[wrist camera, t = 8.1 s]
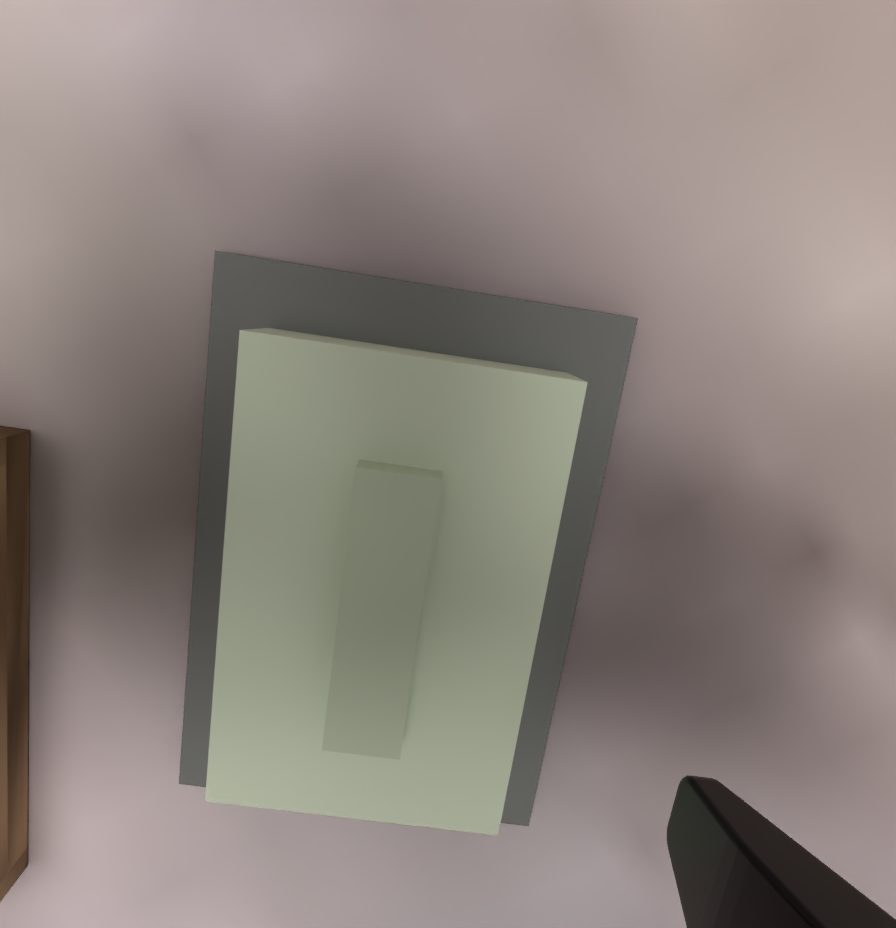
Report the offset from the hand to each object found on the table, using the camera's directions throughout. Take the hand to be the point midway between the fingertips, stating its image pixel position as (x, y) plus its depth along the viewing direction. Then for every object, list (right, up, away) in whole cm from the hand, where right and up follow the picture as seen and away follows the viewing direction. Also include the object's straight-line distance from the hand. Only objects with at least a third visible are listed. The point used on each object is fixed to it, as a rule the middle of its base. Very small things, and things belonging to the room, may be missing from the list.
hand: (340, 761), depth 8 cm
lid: (0, +1, +7) cm, 7 cm away
